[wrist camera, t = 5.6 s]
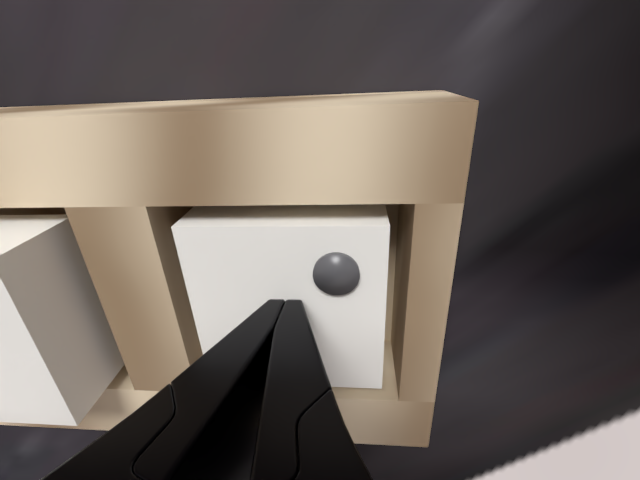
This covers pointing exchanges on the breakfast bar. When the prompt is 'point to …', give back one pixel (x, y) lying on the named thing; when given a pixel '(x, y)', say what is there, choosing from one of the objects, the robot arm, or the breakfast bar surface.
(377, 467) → the breakfast bar surface
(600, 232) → the breakfast bar surface
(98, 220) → the beige wooden frame
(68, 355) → the key three dots
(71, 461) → the robot arm
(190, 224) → the key two dots
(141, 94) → the breakfast bar surface
